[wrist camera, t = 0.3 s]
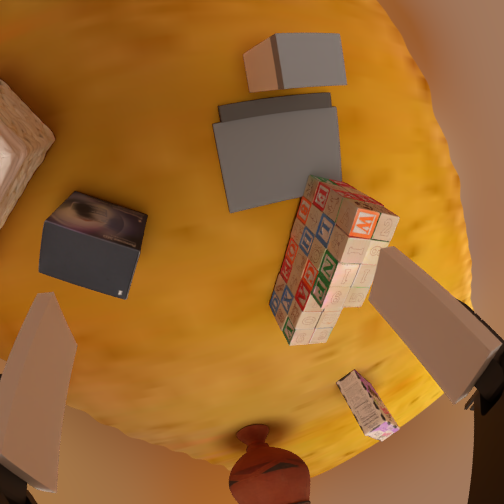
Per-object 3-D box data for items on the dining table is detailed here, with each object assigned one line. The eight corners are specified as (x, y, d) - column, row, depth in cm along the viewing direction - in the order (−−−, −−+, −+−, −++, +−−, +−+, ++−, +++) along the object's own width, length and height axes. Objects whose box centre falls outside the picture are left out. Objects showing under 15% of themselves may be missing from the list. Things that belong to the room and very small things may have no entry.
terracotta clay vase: (278, 442, 74) (305, 512, 53) (213, 450, 69) (233, 528, 47) (297, 408, 66) (334, 492, 45) (220, 417, 61) (246, 514, 39)
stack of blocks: (302, 304, 49) (334, 358, 39) (268, 304, 47) (295, 362, 37) (346, 182, 40) (402, 217, 30) (308, 173, 38) (359, 208, 28)
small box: (150, 211, 36) (143, 250, 27) (135, 255, 38) (127, 303, 29) (74, 187, 32) (43, 218, 23) (64, 233, 34) (37, 275, 25)
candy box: (372, 384, 71) (400, 429, 57) (354, 396, 72) (381, 442, 58) (354, 368, 64) (387, 421, 50) (334, 383, 65) (364, 436, 51)
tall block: (242, 54, 29) (275, 33, 19) (290, 50, 30) (339, 33, 20) (249, 92, 32) (284, 89, 22) (296, 87, 33) (346, 85, 22)
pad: (209, 107, 32) (210, 108, 31) (332, 92, 34) (336, 92, 33) (229, 211, 38) (231, 214, 37) (340, 186, 41) (344, 189, 40)
